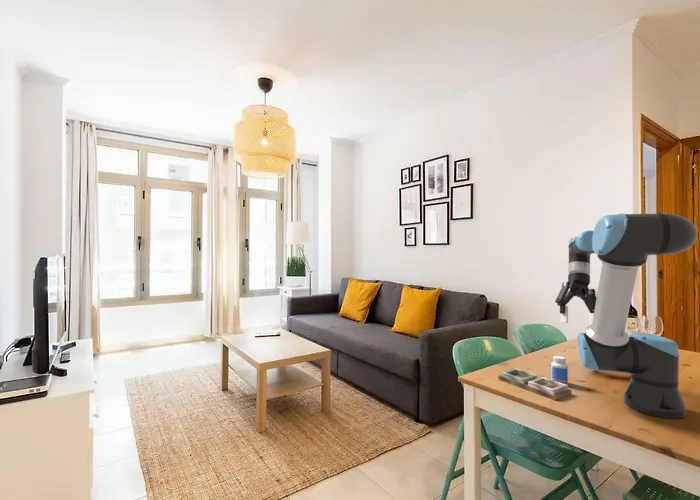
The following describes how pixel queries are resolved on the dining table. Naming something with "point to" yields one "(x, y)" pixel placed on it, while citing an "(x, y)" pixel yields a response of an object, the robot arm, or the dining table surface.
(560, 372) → the pill bottle
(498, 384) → the dining table surface
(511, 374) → the board
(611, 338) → the robot arm
